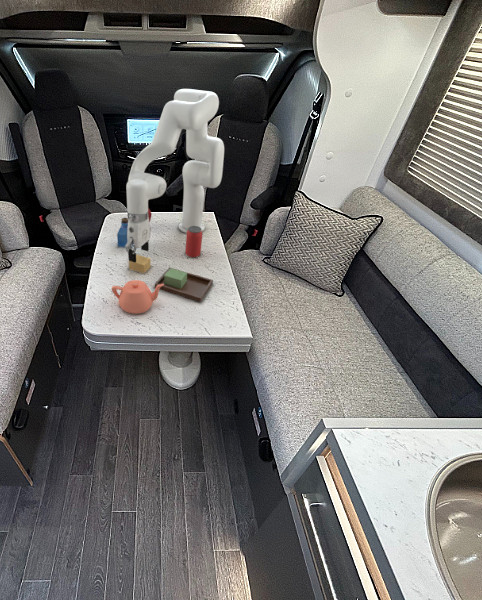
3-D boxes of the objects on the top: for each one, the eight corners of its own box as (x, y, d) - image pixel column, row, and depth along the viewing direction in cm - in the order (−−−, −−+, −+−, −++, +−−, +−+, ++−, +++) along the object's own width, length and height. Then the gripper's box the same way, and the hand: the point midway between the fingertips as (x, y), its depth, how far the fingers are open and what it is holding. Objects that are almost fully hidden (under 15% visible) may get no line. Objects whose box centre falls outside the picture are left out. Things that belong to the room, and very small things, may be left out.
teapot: (115, 293, 126) (113, 272, 120) (163, 294, 126) (164, 273, 120) (111, 315, 116) (108, 293, 110) (163, 316, 116) (164, 294, 110)
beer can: (182, 255, 147) (184, 230, 139) (189, 248, 151) (190, 224, 144) (196, 259, 144) (199, 234, 137) (202, 252, 149) (205, 227, 141)
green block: (170, 276, 134) (170, 267, 131) (186, 281, 131) (187, 272, 129) (164, 283, 130) (164, 275, 127) (180, 289, 127) (181, 280, 125)
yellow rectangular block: (135, 262, 142) (135, 254, 140) (150, 266, 140) (150, 258, 137) (129, 269, 138) (128, 260, 136) (144, 273, 136) (143, 265, 133)
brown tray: (169, 271, 137) (169, 267, 136) (212, 284, 131) (213, 279, 129) (154, 288, 128) (154, 283, 127) (200, 302, 122) (200, 298, 121)
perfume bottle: (131, 248, 151) (130, 223, 144) (118, 246, 152) (116, 222, 144) (134, 241, 156) (133, 216, 148) (121, 240, 157) (119, 215, 149)
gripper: (134, 226, 117) (135, 268, 128) (157, 208, 129) (157, 248, 140) (116, 221, 120) (119, 263, 130) (140, 204, 132) (141, 244, 142)
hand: (138, 255), depth 135 cm, fingers open, 9 cm apart
